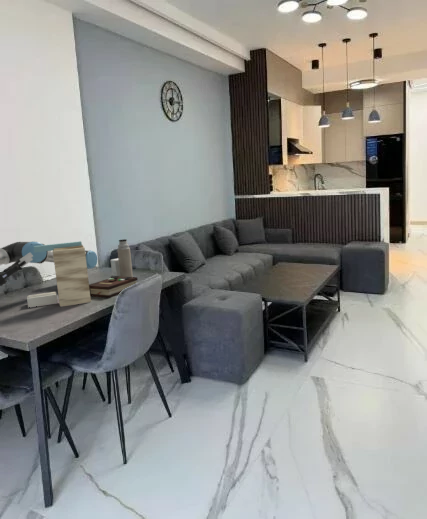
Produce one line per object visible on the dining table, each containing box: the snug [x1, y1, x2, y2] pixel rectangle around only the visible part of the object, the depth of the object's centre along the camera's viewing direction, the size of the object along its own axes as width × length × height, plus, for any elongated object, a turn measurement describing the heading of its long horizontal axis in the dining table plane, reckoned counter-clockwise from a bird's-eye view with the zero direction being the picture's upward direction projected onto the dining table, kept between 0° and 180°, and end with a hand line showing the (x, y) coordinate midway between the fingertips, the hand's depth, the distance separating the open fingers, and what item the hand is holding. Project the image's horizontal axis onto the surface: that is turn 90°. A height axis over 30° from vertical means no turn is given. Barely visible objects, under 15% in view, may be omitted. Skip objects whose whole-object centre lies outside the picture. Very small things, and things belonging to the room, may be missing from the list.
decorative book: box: [89, 275, 138, 299], centre depth 261 cm, size 19×8×30 cm
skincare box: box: [110, 257, 120, 277], centre depth 291 cm, size 8×6×15 cm
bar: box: [34, 240, 83, 252], centre depth 235 cm, size 3×24×3 cm, turn 111°
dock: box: [26, 291, 58, 309], centre depth 243 cm, size 8×15×5 cm, turn 111°
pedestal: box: [53, 244, 92, 307], centre depth 239 cm, size 10×16×31 cm, turn 111°
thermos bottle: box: [117, 238, 134, 277], centre depth 283 cm, size 8×8×28 cm
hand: (31, 255), depth 230 cm, fingers open, 13 cm apart
